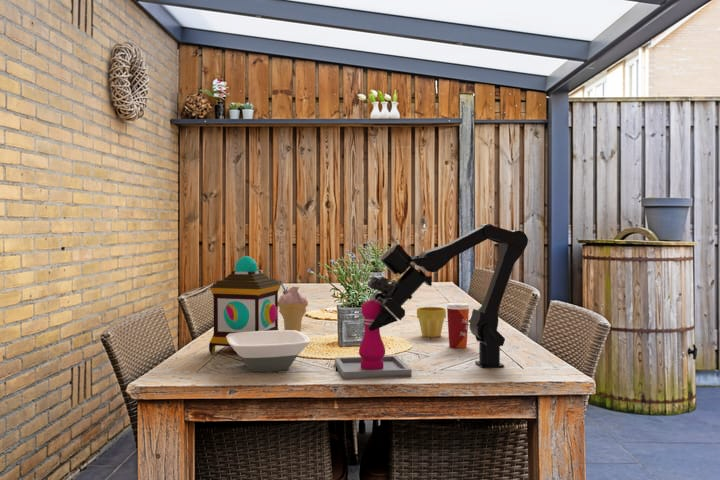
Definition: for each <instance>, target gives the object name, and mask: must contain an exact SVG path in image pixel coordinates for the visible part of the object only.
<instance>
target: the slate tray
mask: <svg viewBox="0 0 720 480" xmlns="http://www.w3.org/2000/svg"><path fill="white" fill-rule="evenodd" d="M362 360H363V359H362V357H361V356H343V357H341V356H340V357H334V365H335V367H336V369H337V370H338V372H339V373H340V375H341V377H342V379H343V380H352V379H376V378H377V379H378V378H399V377H400V378H406V377H412V374H413V373H412V371H413V370H412V368H410V366H408V365H407V364H406V362H404V361H403V360H402V359H401V358H399V357H398V355H384V357H383V358H382V359H381V360H382V361H383V368H382V369H379V370H366V369H362V368H361V361H362Z"/></svg>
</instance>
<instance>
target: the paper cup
mask: <svg viewBox="0 0 720 480" xmlns="http://www.w3.org/2000/svg"><path fill="white" fill-rule="evenodd" d="M446 305H447V306H445V309H446V316H447V330H448V331H447V332H448V347H450V348H452V349H465V348H467V346H468V345H467V343H468V331H469V330H468V329H469V322H468V321H469V318H470V317H469V316H470V315H469V313H470V309H471V307H470V305H469V303H465V302H447V304H446Z"/></svg>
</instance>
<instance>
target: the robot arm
mask: <svg viewBox="0 0 720 480" xmlns="http://www.w3.org/2000/svg"><path fill="white" fill-rule="evenodd" d="M486 240H489V241H492V242H494V243H496V244H498V248H497V249H498V250H497V251H498V259H497V263H496V265H495V268H494V271H493V273H492V277H491V280H490V282H489V286H488V288H487V291H486V294H485V297H484V299H483V303H482V305H480V307H479V308H478V309H476V308H473V309H472V311H471V317H470V319H468V323H469V325H468V328H469V330H470V332H471V334H472V335H473V336H474V337H475V341H476V342H479V343H478V344H479V346H478V347H479V348H478V349H479V350H478V351H479V352H478V354H479V355H478V357H479V358H478V359H479V360H475V361H474V363H475V364H476V365H478V366H479V367H480V368H503V367H505V364H503V363H502V362H501V347H503V346H504V344H505V340H506V338H505V337H504V336H503V335H502V334H501V333H500V332H499V331H498V327H499V309H500V306H501V303H502V301H503V297H504V295H505V292H506V288H507V286H508V283H509V281H510V278H511V274H512V271H513V269H514V266H515V264H516V262H517V261H518V260H519V259H520V258H521V256H522V255H523V254H524V252H525V250H526V248H527V247H528V245H529V239H528V236H527V234H526V233H525V232H524V231H522V230H514V229H513V230H508V229H505V228H502V227H498V226H495V225H493V224H491V223H483V224H481V225H479V226H478V227H477V228H475V229H473V230H471V231H469V232H467V233H465V234H463V235H461V236H460V237H458V238H455V239H454V240H452V241H450V242H448V243H447V244H444V245H441V246H437V247H432V248H429V249H427V250H424V251H421V252H420V254H418V255H412V256H410V255H409V253H407V252H406V250H405V249H404V248H403V246H402V245H401V244H400V243H396V244H395V245H394V246H392V247H391V248H389V250H387V251H385V253H384V254H383V255H382V256H381V258H380V260H379V261H380V262H381V263H382V264H384V266H385V267H386V268H387V269H388V270H389V271H390V272H391V274H393V275H395V276H396V275H397V274H398V275H399V276H400V277H398V279H397V280H394V281H393V280H392V281H391V282H390V283H389V279H388V278H386V277H385V276H380V277H379V278H378V277H375V276H373V275H371V278H370V280H369V283H368V284H367V287H369V288H370V289H372V290H377V291H376V292H374V293H373V294H372V295H374V296H375V298H376V299H375V300H374V301H378V302H380V303H381V304H382V305H381V304H380V312H379V314H378V315H377V317H376V318H375V319H374V321H373V322H372V324H371V325H370V327H369V328H368V329H369V330H370V331H373V330H376V329H378V328H383V327H385V326H388V325H390V324H393V323H395V322H398V320H399V321H401V320H402V319H403V318H404V317H405V316H406V309H404V308H403V307H402V306H403V305H404V304H405V303H406V302H407V301H408V300H411V299H412V298H413V294H415V293H416V292H417V291H418V289H420V287H421V286H422V285H423V284H425V285H426V286H429V287H431V286H433V284H432V283H433V282H432V278H433V276H431V275H427V274H425V272H429V273H436V272H439V271H440V270H441V269H443V267H445V266H446V265H447V264H448V263H449V262H450V261H451V260H452V259H453V258H455V257H456V256H459V255H460V254H462V253H463V252H466V251H468V250H470V249H471V248H473V247H475V246H477V245H479V244H481V243H483V242H484V241H486ZM413 265H414V266H416V267H417V266H418V267H419V268H417V269H416V268H415V267H414V266H413ZM363 322H364V320H362V325H363V326H364V327H365V324H364V323H363Z"/></svg>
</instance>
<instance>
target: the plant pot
mask: <svg viewBox="0 0 720 480" xmlns="http://www.w3.org/2000/svg"><path fill="white" fill-rule="evenodd" d="M446 317H447V308H446V307H440V306H423V307H417V308H416V318H417V319H418V321H419V327H420V330H421V335H422V336H423V337H426V338H439V337H441V336H442V333H443V332H442V330H443V324H444V320H445V319H446Z"/></svg>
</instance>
